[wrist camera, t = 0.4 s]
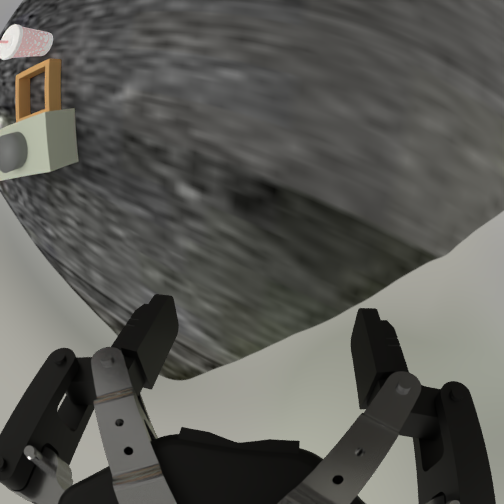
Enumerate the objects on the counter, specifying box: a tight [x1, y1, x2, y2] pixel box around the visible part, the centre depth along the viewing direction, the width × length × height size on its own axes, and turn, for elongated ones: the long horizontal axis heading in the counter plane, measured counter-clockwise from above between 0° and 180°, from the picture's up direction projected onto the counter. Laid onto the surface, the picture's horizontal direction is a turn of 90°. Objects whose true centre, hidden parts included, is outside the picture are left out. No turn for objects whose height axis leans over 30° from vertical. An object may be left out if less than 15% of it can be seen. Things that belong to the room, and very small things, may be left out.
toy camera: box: [0, 59, 79, 181], centre depth 32 cm, size 19×16×10 cm
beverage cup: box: [0, 24, 53, 60], centre depth 24 cm, size 6×6×14 cm
